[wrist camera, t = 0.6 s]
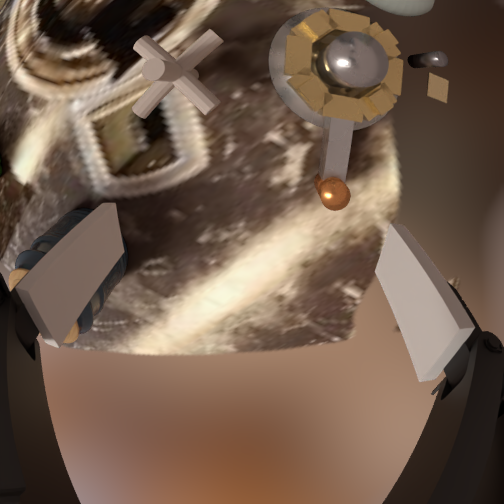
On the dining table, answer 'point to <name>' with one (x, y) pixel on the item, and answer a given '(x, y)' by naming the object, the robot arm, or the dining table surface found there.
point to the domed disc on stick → (335, 106)
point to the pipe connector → (175, 73)
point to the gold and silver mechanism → (346, 68)
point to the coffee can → (3, 5)
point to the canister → (46, 244)
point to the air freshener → (404, 6)
